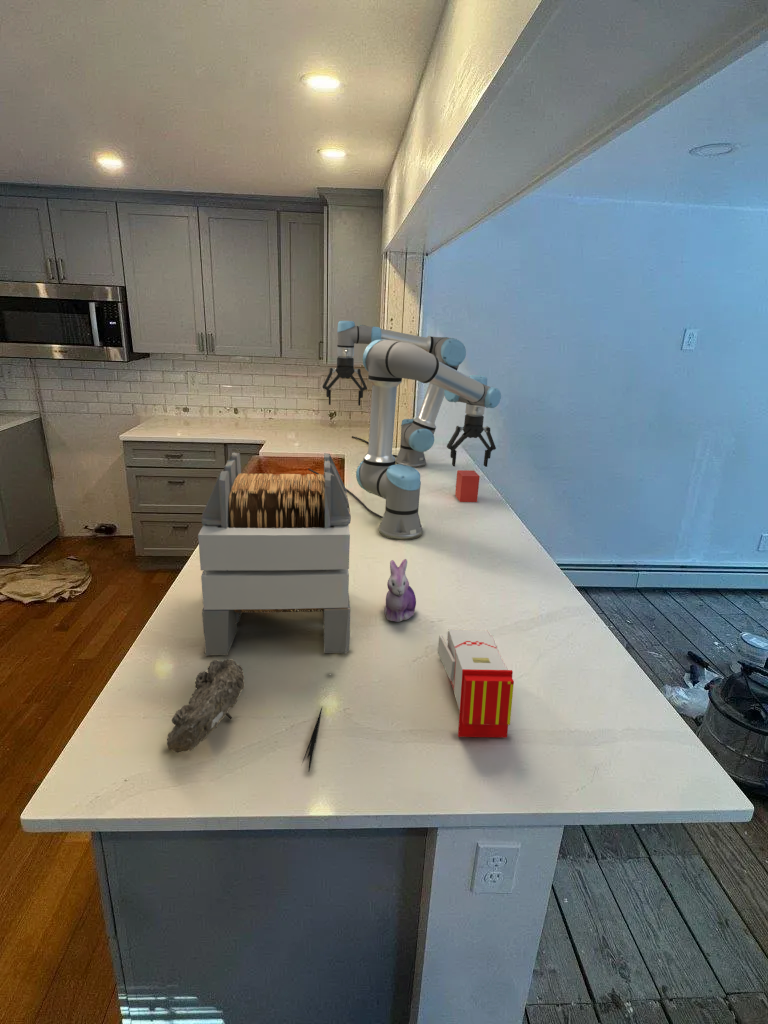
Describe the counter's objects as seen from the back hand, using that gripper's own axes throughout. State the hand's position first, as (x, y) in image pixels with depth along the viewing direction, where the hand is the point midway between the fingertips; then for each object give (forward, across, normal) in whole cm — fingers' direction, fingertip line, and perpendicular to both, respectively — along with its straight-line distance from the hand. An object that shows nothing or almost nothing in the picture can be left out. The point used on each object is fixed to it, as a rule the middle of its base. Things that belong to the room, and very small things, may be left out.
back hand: (344, 404), depth 261 cm
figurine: (+32, +7, -134) cm, 138 cm away
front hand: (+17, +50, -41) cm, 67 cm away
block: (+32, +50, -40) cm, 72 cm away
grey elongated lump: (+32, -34, -171) cm, 177 cm away
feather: (+32, -14, -173) cm, 176 cm away
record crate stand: (+32, -23, -135) cm, 140 cm away
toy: (+32, +17, -167) cm, 171 cm away
